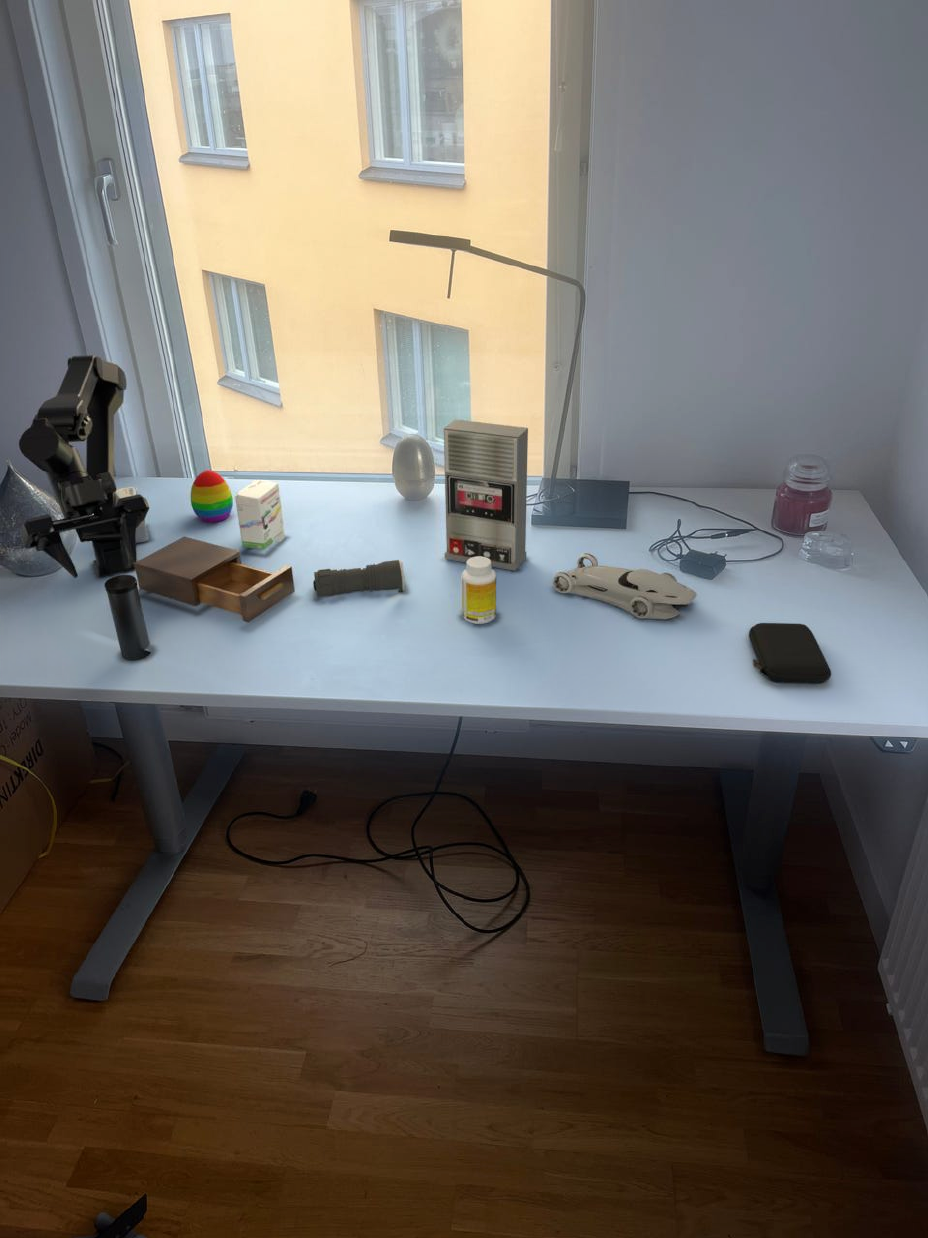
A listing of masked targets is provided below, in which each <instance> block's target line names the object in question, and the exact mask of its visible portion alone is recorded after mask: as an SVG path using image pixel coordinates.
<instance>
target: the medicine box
mask: <svg viewBox="0 0 928 1238" xmlns="http://www.w3.org/2000/svg"><path fill="white" fill-rule="evenodd" d="M116 489H117V490H116V494H117V495H118V497H119V498H124V497H129V496H133V495H138V494H139V491H138V488H137V487H136V486H129V487H123V488H116ZM148 541H149V534H148V528H147V525H146V518H145V519H144V521H142V522H140V524H139V526H138V527H137V528H136V544H139V543H145V542H148Z"/></svg>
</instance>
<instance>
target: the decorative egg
mask: <svg viewBox="0 0 928 1238" xmlns="http://www.w3.org/2000/svg"><path fill="white" fill-rule="evenodd" d="M231 490H232V489H231V488H230V486H229V484H228V483H227V481H226V480H225V478H224V477H223V476H221V474H219V473H218V472H216V471H214V470H209V469H207V470H203V471H202V472H201V471H200V473H198V475H197V476H196V478H195V479H194V480H193V483H192V485H191V490H190V505H191V508H192V510H193V512H194V514H195V515H196V516H197V518H198V519H200V521H202V522H205V523H218V522H222V521H225V520H226V519H227V518H228V517H229V516H230V514H231V512H232V509H233V503H234V501H233V500H234V499H233V493H232V491H231Z"/></svg>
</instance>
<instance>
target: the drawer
mask: <svg viewBox="0 0 928 1238" xmlns="http://www.w3.org/2000/svg"><path fill="white" fill-rule="evenodd" d="M293 573H294V572H293V567H292V565H288V564H286V565H285V566H282V568H279V569H278V570H277V571H274V572H271V571H269V570H268V571H267V570H264V569H261V568H257V567H253V566H251V565H245V564H239V563H235V562H232V561H229V562H228V563H226V564H224V565H222V566H221V567H219V568H217V569H216V570H214V571H212V572H211V573H209V574H207V575H205V576H204V577H202V578H200V579H199V580H197V581H196V586H197V591H198V597H199V602H200V604H205V605H207V606H211V607H214V608H218V609H221V610H225V611H228V612H231V613H234V614H238V615H241V617H242V618H241V619H242V621H243V622H245V623H250V622H252V621H253V620H255V619H256V618H258V617H259V616H260V615H262V614H264V613H265V612H266V611H268V610H270V609H271V608H272V607H274V606H275V605H276V604H278V603H279V602H282V601H283V600H284V599H286V598H287V597H289V596H290V595H292V594H293V593H295V591H296V590H295V582H294V574H293Z"/></svg>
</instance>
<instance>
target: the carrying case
mask: <svg viewBox="0 0 928 1238" xmlns="http://www.w3.org/2000/svg"><path fill="white" fill-rule="evenodd" d="M748 638H749V640H750V643H751V645H752V649H753V651H754V654H755V656H756V658H753V659H752V665H753V667H754V668H756V670H758V672H759V673H760V674H762V675H764V676H765V677H767V679H768V680H769V681H770V682H773V683H777V684H812V685H813V684H814V685H815V684H816V685H818V684H819V685H820V684H823V683H825V682H827V681H829V679H830V678H831V676H832V670H831V667H830V665H829V664H828V661H827V660H826V657H825V656H824V653H823V652H822V649H821V648H820V645H819V644H818V641H817V639H816V637H815V635H814V633H813V631H812V630H811V628H810V627H808V626H807V625H806V624H803V623H792V622H791V623H787V622H786V623H783V622H759V623H756V624H755V625H753V626H752V627H750V628H749V631H748Z"/></svg>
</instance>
